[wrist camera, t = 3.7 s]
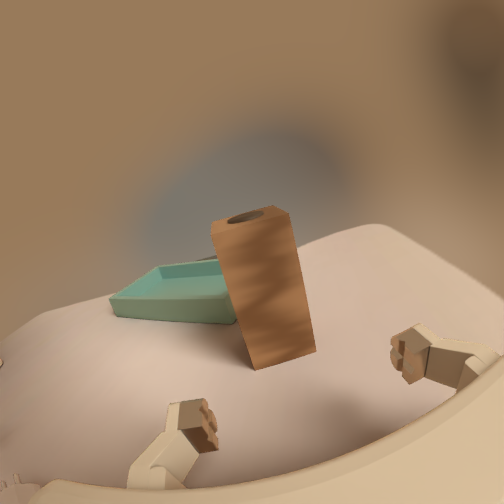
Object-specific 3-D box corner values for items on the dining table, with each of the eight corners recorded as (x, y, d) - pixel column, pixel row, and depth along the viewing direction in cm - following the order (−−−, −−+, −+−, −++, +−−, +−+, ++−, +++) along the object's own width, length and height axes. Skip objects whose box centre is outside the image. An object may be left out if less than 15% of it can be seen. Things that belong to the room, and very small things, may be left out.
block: (254, 370, 20) (210, 232, 17) (247, 337, 25) (211, 220, 22) (316, 351, 20) (288, 210, 17) (299, 321, 25) (272, 203, 22)
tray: (116, 316, 36) (108, 298, 35) (163, 281, 47) (157, 265, 46) (232, 323, 28) (224, 298, 27) (270, 273, 38) (265, 253, 37)
